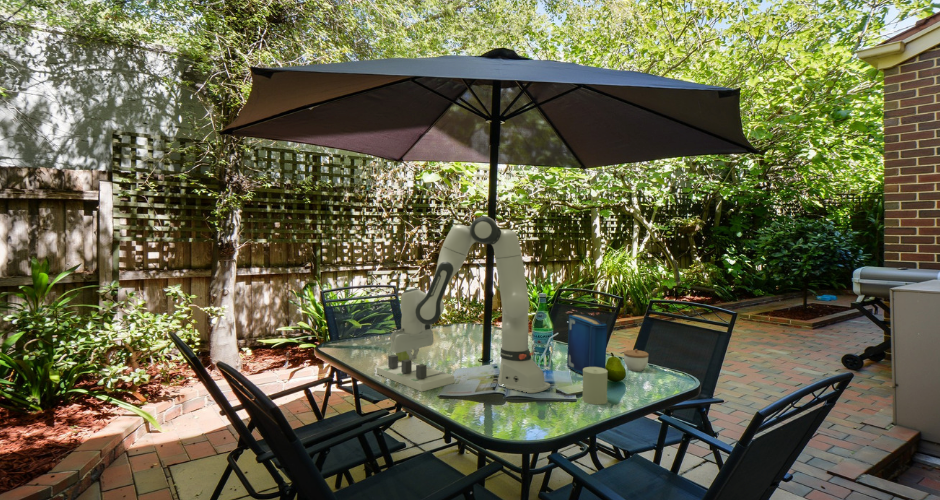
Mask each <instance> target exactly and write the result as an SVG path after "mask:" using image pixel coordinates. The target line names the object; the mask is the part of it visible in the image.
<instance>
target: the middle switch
mask: <svg viewBox="0 0 940 500" xmlns="http://www.w3.org/2000/svg"><path fill="white" fill-rule="evenodd" d="M401 362H402V373H405V374H407V373H411V372H412V362H413V360H408V359H406V360H402V361H401Z"/></svg>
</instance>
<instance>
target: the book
mask: <svg viewBox="0 0 940 500" xmlns="http://www.w3.org/2000/svg"><path fill="white" fill-rule="evenodd" d="M567 322H568V324H567V325H568V328H567V329H568V330H567V353H566V354H567V359H566V366H567V368H569V369H571V370H572V371H574V373H577V374H580V375H582V376H583V368H586V367H600V368H604V369H606V360H607V340H608V339H607V335H608V334H607V333H608V325H607V323H605V322H601V321H600V320H599V319H597V318H594V317H591V316H590V315H589V316H588V315H584V314H568V321H567Z"/></svg>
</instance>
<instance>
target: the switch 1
mask: <svg viewBox="0 0 940 500" xmlns="http://www.w3.org/2000/svg"><path fill="white" fill-rule="evenodd" d="M387 359H388V362H387V363H388V364H387V365H388V367H389V368H392V369H393V368H398V363H399V361H398V356H396V354H391V355H388V358H387Z"/></svg>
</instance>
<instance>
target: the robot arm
mask: <svg viewBox="0 0 940 500" xmlns="http://www.w3.org/2000/svg"><path fill="white" fill-rule="evenodd" d="M475 243H480V244H487V245H491V246H492V248H493V251H494V253H493V254H494V257H495V258H494V259H495V266H496V271H497V279H498V288H499V294H500V301H501V302H500V303H501V307H502V309H501V310H502V311H501V317H502V318H501V347H500V352H499V354H500V357H501V359H500V366H499V373H498V374H499V375H498V378H497V380H498V381H499V382H497V385H498V384H500V385H502V384H504V385H503V386H505V387H506V388H505V389H509V390H512V389H515V390H514V391H517V390H520V391H519V392H521V391H523V392H522V393H526V392H527V393H526V394H534V393H539V392H543V391H546V390H548V389H550V388H551V384H550V383H549V382H546V379H545V373H544V371H543V369H541V367H540V366H538V364H537V363H536V362H535V361H534V360H533V359H532V356H534V352H531V351H530V348H529V309H530V301H529V300H530V299H529V292H528V287H527V286H528V285H527V281H526V275H525V274H526V273H525V268H524V261H523V255H522V254H523V253H522V249H521V245H520V241H519V238H518V236H517V233H516V232H515V231H514V230H512V229H500V227H499V226H498V224H497V222H496V221H495V220H494V219H493V218H491V217H489V216H486V215H485V216H478V217H477V218H475V219H474V220H473V221H472V223H471V224H470V225H469V226H468V225H464V224H454V225H453V226H452V227H451V229H450V230H449V231H448V234H447V235H446V237H445V239H444V241H443V243H442V246H441V249H440V251H439V256H438V259H437V265H436V270H435V273H434V276H433V279H432V281H431V284H430V286H429V287H428V288H429V289H428V290H427V293H426V292H424V291H422V290H421V289H419V288H417V287H415V288H410V289H406V290H404V291H403V292H402V293H401V295H400V312H401V318H400V324H401V325H400V327H401V328H400V329H394V331H392V333H391V334H390V337H391V338H390V339H391V340H390V351H391V353H393V354H394V353H395V354H396V353H400V352H404V351H407V354H408V355H409V360H411V361H414V360H417V358H418V353H419V352H420V349H422V348H425V347H429V346H430V347H431V346H433V344H434V341H435V339H434V331H433V330H432V329H433V325H434V324H436V323H437V322H438V321H439V319H440V317H441V316H442V314H443V312H444V311H445V310H444V309H445V304H444V301H443V297H444V295H445V292H446V290H447V287H448V285H449V283H450V281H451V280H452V279H453V277H454V276H455V275H456V274H457V273H458V272H459V271H460V269H461V268H462V266H463V264H464V263H465V261H466V259H467V256H468V254H469V251H470V249H471V247H472V245H474V244H475Z"/></svg>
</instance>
